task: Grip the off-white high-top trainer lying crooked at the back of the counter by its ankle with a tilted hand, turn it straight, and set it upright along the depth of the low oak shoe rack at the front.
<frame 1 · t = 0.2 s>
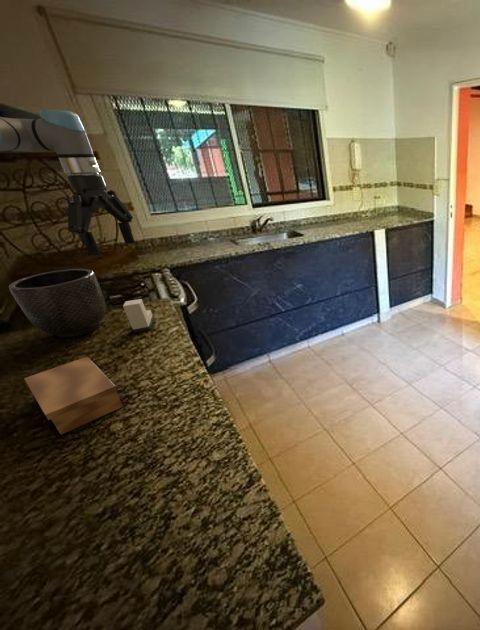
hand: (113, 248, 105), 29 cm above the countertop, tool pointing down, fingers open, 13 cm apart
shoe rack: (79, 401, 84), on the countertop
planter: (79, 330, 118), on the countertop
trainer: (143, 328, 119), on the countertop
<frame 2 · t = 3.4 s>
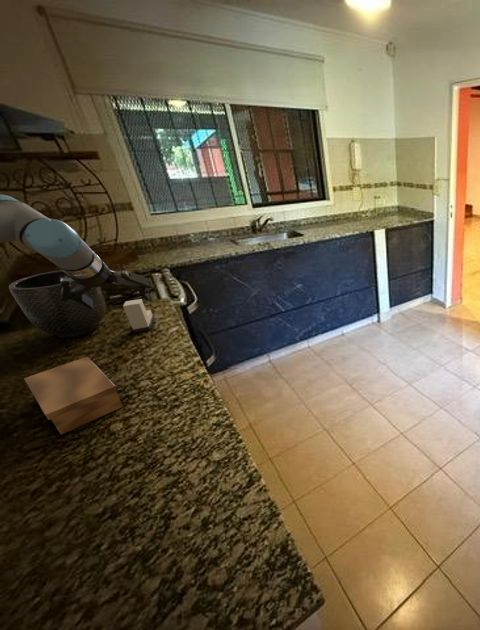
hand: (120, 300, 104), 15 cm above the countertop, tool tilted 45°, fingers open, 13 cm apart
nothing on the countertop moved.
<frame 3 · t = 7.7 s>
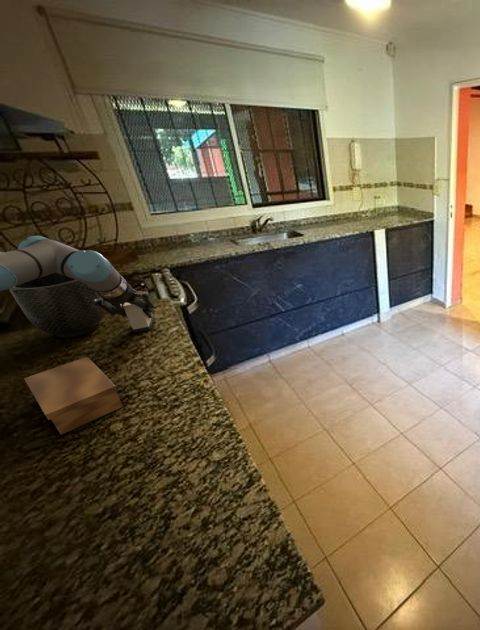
hand: (141, 316, 120), 3 cm above the countertop, tool tilted 45°, fingers closed on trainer, 4 cm apart
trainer: (143, 328, 119), on the countertop, touching gripper
everything else where it was.
when the fingers open (9 cm above the countertop, at t = 18.3 s): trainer stays where it is, resting on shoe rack.
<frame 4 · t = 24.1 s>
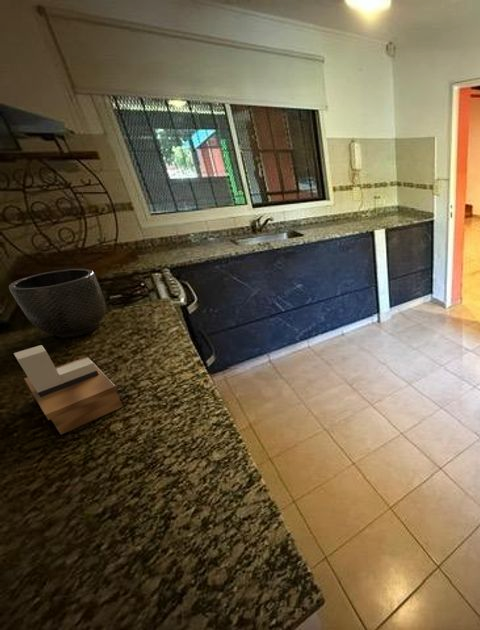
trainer: (51, 388, 80), point 6 cm above the countertop, touching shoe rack
everything else where it was.
at the end: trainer inside the target area on the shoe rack (1.8 cm from its centre), point 6.0 cm above the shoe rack's base; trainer tilted 0°; the gripper is holding nothing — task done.
